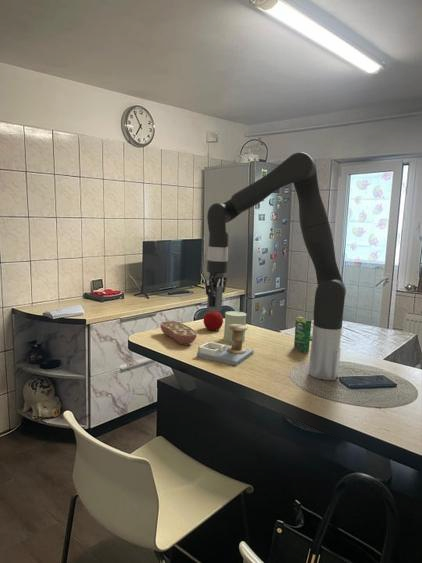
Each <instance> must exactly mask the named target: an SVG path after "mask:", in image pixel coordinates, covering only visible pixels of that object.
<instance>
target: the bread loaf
mask: <svg viewBox="0 0 422 563" xmlns="http://www.w3.org/2000/svg"><path fill="white" fill-rule="evenodd" d="M159 325H160V329H161V331H162V333H163V334H164V335H166V336H168V337H171V338H173V339H174V340H175V341H176V342H177V343H179V344H180V345H183V346H187V345H191V344H192V343H193V342H194V341H195V340H196V338H197V336H198V335H197V334H198V332H197V331H196V330H194V329H193V328H192V327H190V326H188V325H186V324H184V323H181V322H177V321H163V322H161V323H160V324H159Z"/></svg>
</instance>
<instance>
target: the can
mask: <svg viewBox="0 0 422 563" xmlns="http://www.w3.org/2000/svg"><path fill="white" fill-rule="evenodd" d="M224 316H225V317H224V331H223V338H222V339H223V341H225V342H228V343H231V344H232V331H233V330H231V329H229V325H231V324H241V325H245V326H247V312H243V311H234V310H233V311H232V310H230V311H225V312H224ZM245 334H246V330H245V331H243V341H242V343H244V342H245V341H246V339H245V338H246V337H245V336H246V335H245Z"/></svg>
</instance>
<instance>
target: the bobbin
mask: <svg viewBox="0 0 422 563" xmlns="http://www.w3.org/2000/svg"><path fill="white" fill-rule="evenodd" d="M229 329H231V330H233V331H232V343H231V346H230V347H228V348H227V351H228V352H230V353H234V354H243V353H245V352H246V349H247V348H245V347H243V342H242V341H243V331H245V332H246V331H247V330H248V326H247V325H246V326H245V325H241V324H231V325H229Z"/></svg>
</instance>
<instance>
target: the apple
mask: <svg viewBox="0 0 422 563" xmlns="http://www.w3.org/2000/svg"><path fill="white" fill-rule="evenodd" d="M223 324H224V316H223V315H222V313H221V312H220V311H218V312H214V311H207V312H206V313H205V314H204V316H203V325H204V327H205V329H206V330H208V331H218V330H220V329H221V328H222V326H223Z"/></svg>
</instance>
